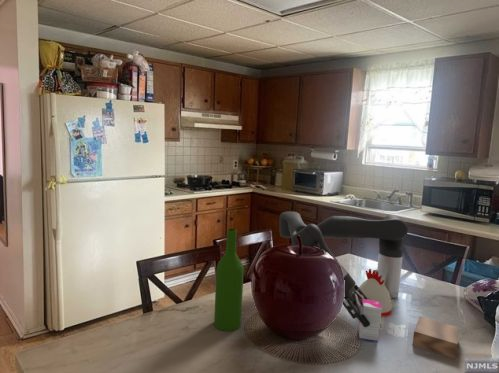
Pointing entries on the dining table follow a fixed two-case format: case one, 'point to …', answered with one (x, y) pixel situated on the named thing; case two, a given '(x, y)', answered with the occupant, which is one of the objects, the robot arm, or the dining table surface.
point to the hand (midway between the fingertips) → (370, 320)
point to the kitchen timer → (377, 292)
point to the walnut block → (436, 337)
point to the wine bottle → (229, 287)
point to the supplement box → (370, 320)
